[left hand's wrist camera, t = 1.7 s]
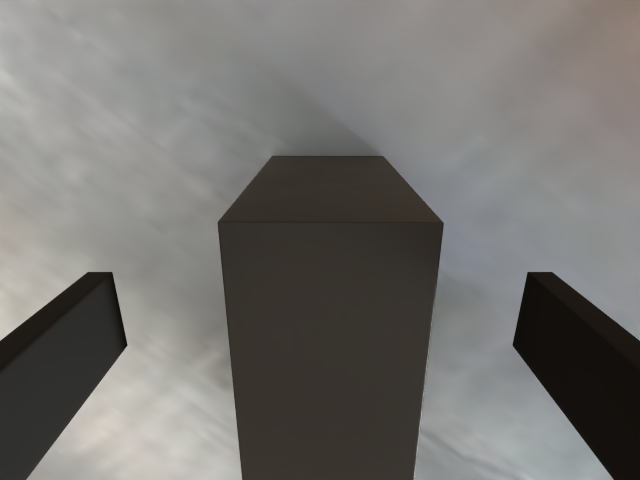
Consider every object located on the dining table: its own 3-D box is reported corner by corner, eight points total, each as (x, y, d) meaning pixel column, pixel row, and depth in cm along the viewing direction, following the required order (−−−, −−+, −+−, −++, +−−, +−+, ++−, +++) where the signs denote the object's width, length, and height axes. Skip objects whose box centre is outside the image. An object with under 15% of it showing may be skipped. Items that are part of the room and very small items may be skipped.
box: (272, 155, 22) (217, 221, 11) (383, 155, 22) (444, 222, 11) (283, 433, 29) (257, 647, 18) (367, 434, 29) (394, 649, 18)
